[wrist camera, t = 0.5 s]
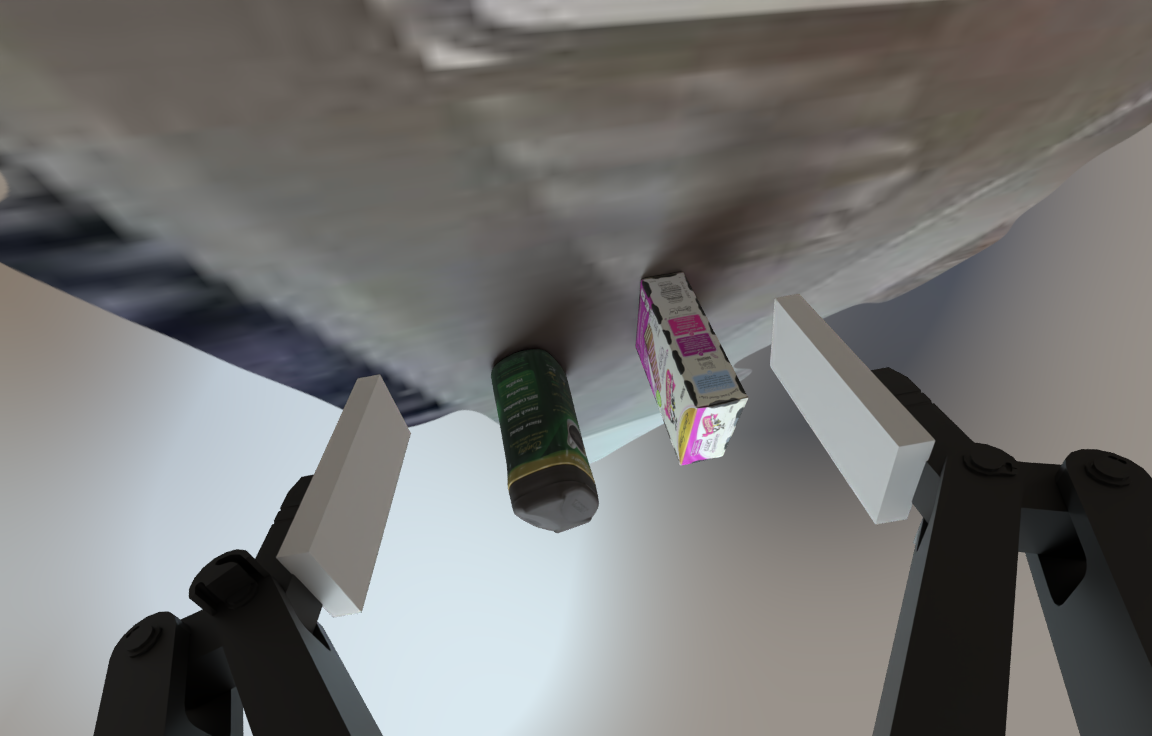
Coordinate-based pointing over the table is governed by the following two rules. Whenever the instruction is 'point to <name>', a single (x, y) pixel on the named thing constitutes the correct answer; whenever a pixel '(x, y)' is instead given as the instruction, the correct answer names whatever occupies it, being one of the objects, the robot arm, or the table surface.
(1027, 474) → the robot arm
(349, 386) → the table surface
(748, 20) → the table surface
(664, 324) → the candy bar box
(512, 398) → the coffee jar
